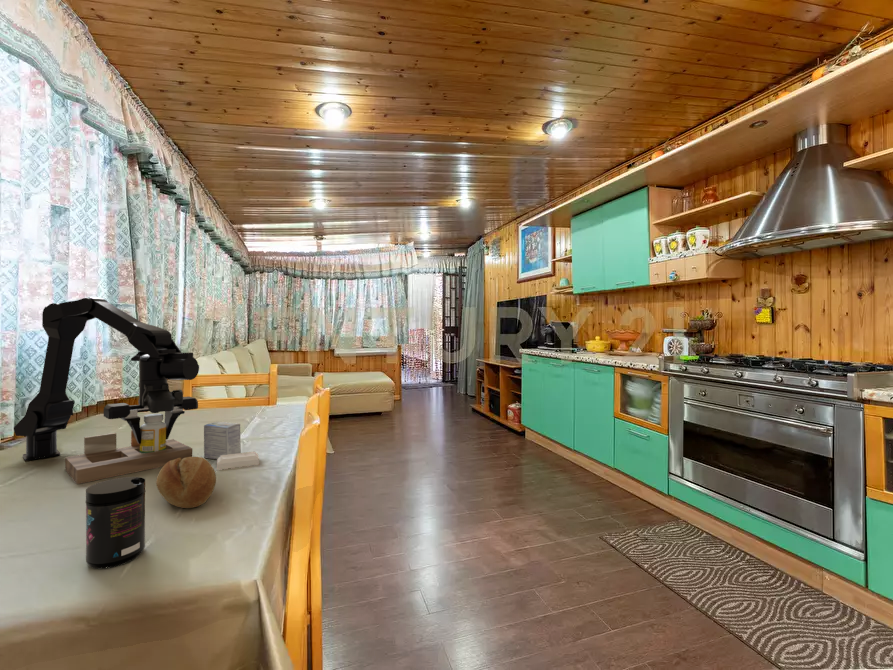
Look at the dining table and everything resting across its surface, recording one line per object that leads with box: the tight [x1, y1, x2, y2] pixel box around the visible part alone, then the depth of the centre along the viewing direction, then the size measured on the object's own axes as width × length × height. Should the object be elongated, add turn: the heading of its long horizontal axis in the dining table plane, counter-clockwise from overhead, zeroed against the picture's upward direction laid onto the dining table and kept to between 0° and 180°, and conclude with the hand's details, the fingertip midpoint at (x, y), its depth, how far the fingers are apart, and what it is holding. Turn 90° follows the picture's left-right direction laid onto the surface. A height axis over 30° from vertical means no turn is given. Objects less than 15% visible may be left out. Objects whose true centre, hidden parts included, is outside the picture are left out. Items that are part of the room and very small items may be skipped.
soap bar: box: [216, 451, 260, 471], centre depth 102 cm, size 5×9×3 cm, turn 118°
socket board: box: [64, 429, 193, 485], centre depth 102 cm, size 14×22×7 cm, turn 140°
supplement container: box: [85, 476, 146, 569], centre depth 60 cm, size 7×7×10 cm
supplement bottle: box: [140, 413, 166, 454], centre depth 105 cm, size 5×5×10 cm
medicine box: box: [203, 421, 242, 460], centre depth 108 cm, size 8×4×9 cm, turn 71°
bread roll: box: [156, 456, 217, 509], centre depth 81 cm, size 10×15×8 cm, turn 40°
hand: (153, 441), depth 105 cm, fingers closed on supplement bottle, 5 cm apart
